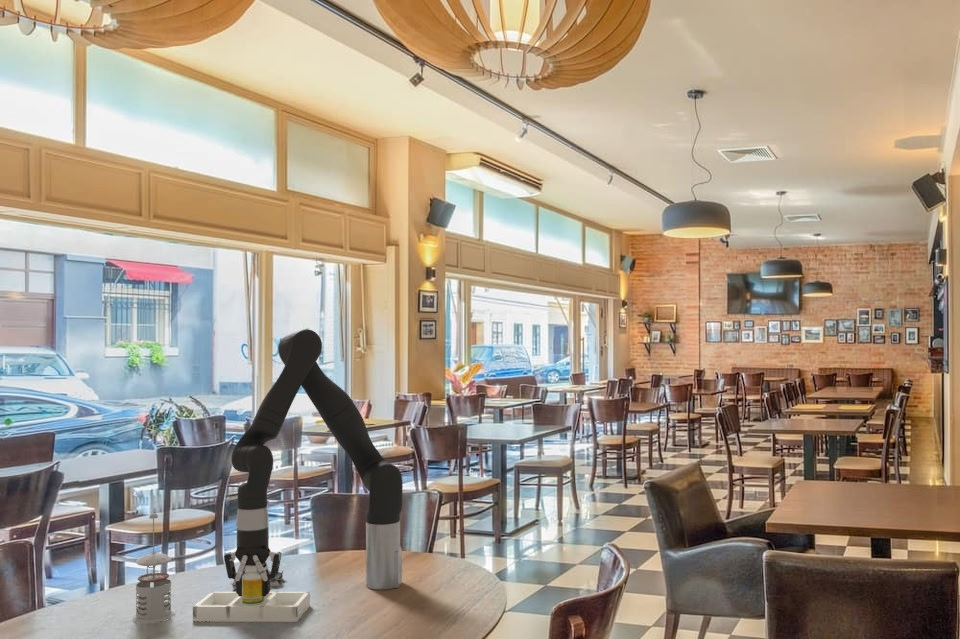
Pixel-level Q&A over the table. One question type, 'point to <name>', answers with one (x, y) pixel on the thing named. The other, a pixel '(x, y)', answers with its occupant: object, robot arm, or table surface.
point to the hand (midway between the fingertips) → (253, 595)
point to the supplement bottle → (252, 586)
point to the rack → (251, 608)
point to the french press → (153, 589)
